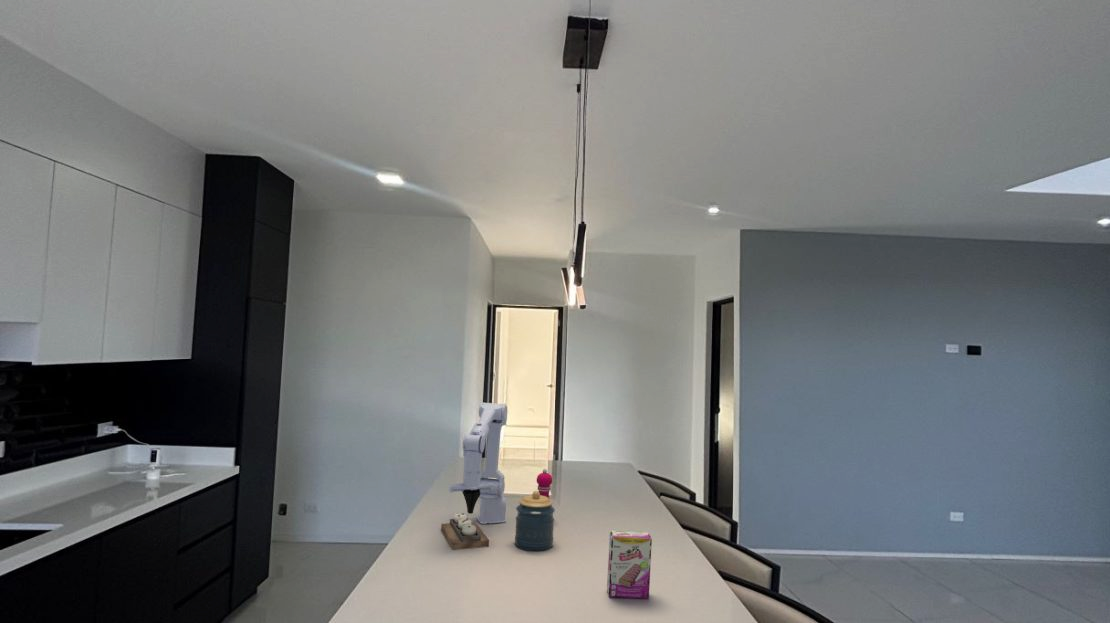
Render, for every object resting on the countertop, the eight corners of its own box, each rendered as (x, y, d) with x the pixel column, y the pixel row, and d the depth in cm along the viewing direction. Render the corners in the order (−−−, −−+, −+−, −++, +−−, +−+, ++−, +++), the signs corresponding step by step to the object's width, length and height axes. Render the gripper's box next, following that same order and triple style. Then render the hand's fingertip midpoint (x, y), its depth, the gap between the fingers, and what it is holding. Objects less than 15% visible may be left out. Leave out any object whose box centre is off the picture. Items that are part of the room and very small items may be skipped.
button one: (474, 530, 192) (474, 523, 192) (477, 534, 188) (477, 528, 188) (461, 531, 190) (461, 524, 190) (463, 535, 186) (464, 529, 186)
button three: (469, 524, 198) (469, 518, 198) (472, 528, 194) (472, 521, 194) (456, 525, 196) (457, 518, 196) (459, 529, 192) (460, 522, 192)
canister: (548, 553, 184) (551, 498, 185) (509, 548, 186) (512, 494, 187) (556, 540, 196) (558, 488, 197) (520, 536, 199) (522, 484, 200)
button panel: (474, 527, 206) (474, 517, 206) (488, 546, 188) (489, 535, 188) (441, 529, 202) (441, 519, 202) (452, 549, 183) (453, 538, 183)
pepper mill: (552, 520, 218) (555, 467, 219) (551, 526, 211) (553, 471, 212) (534, 518, 219) (536, 466, 220) (531, 524, 212) (534, 470, 213)
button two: (465, 518, 204) (465, 512, 204) (468, 522, 200) (468, 516, 200) (453, 519, 202) (453, 513, 202) (455, 523, 198) (456, 517, 198)
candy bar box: (608, 598, 153) (611, 536, 154) (606, 590, 158) (608, 530, 159) (650, 600, 153) (652, 537, 154) (646, 591, 158) (648, 531, 159)
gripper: (453, 474, 184) (450, 517, 183) (496, 473, 189) (494, 514, 188) (448, 469, 190) (446, 511, 189) (491, 468, 196) (488, 508, 195)
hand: (470, 512), depth 189 cm, fingers closed
